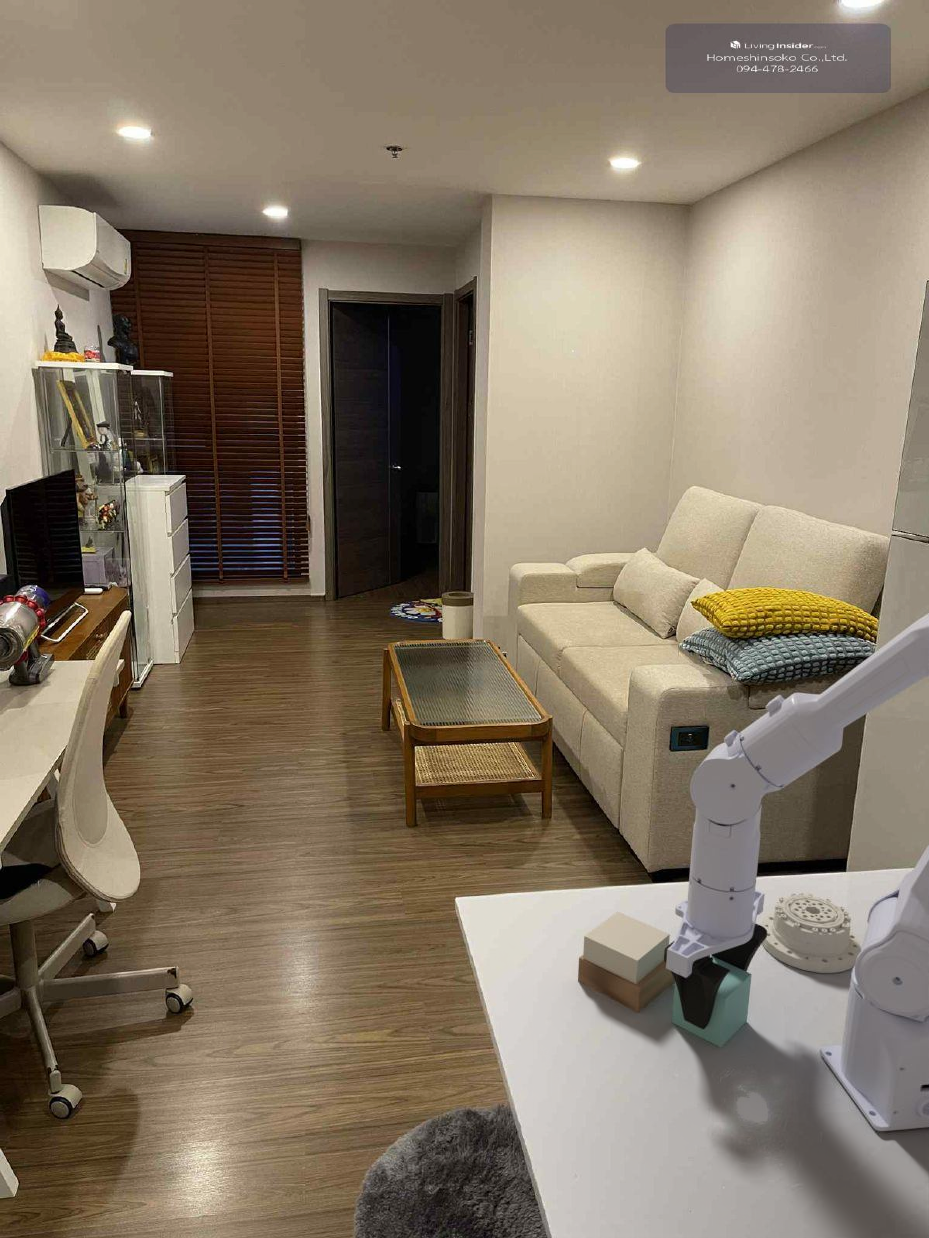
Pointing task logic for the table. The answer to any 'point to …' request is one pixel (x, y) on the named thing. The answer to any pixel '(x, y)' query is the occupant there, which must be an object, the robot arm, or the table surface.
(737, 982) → the cube
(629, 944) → the slab top
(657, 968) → the slab base
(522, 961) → the table surface
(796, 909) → the mechanical component
